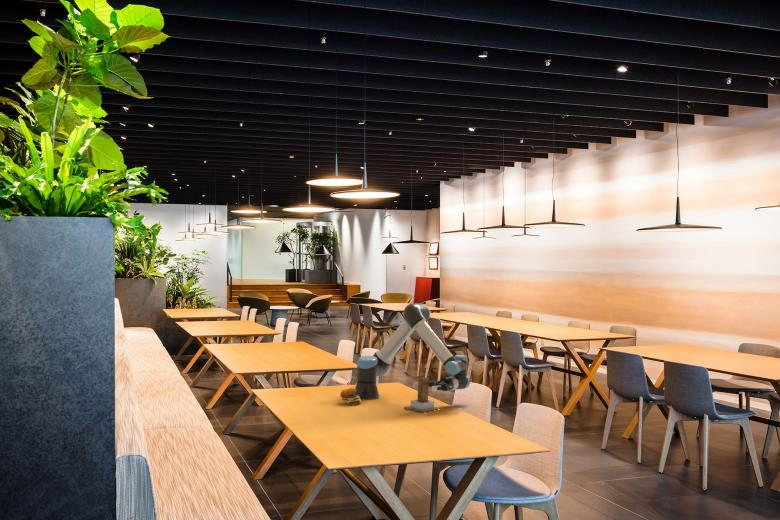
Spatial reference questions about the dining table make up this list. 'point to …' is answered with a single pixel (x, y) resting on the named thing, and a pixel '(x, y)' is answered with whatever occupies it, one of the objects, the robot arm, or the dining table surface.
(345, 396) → the cheeseburger
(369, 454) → the dining table surface
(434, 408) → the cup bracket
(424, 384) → the walnut post
